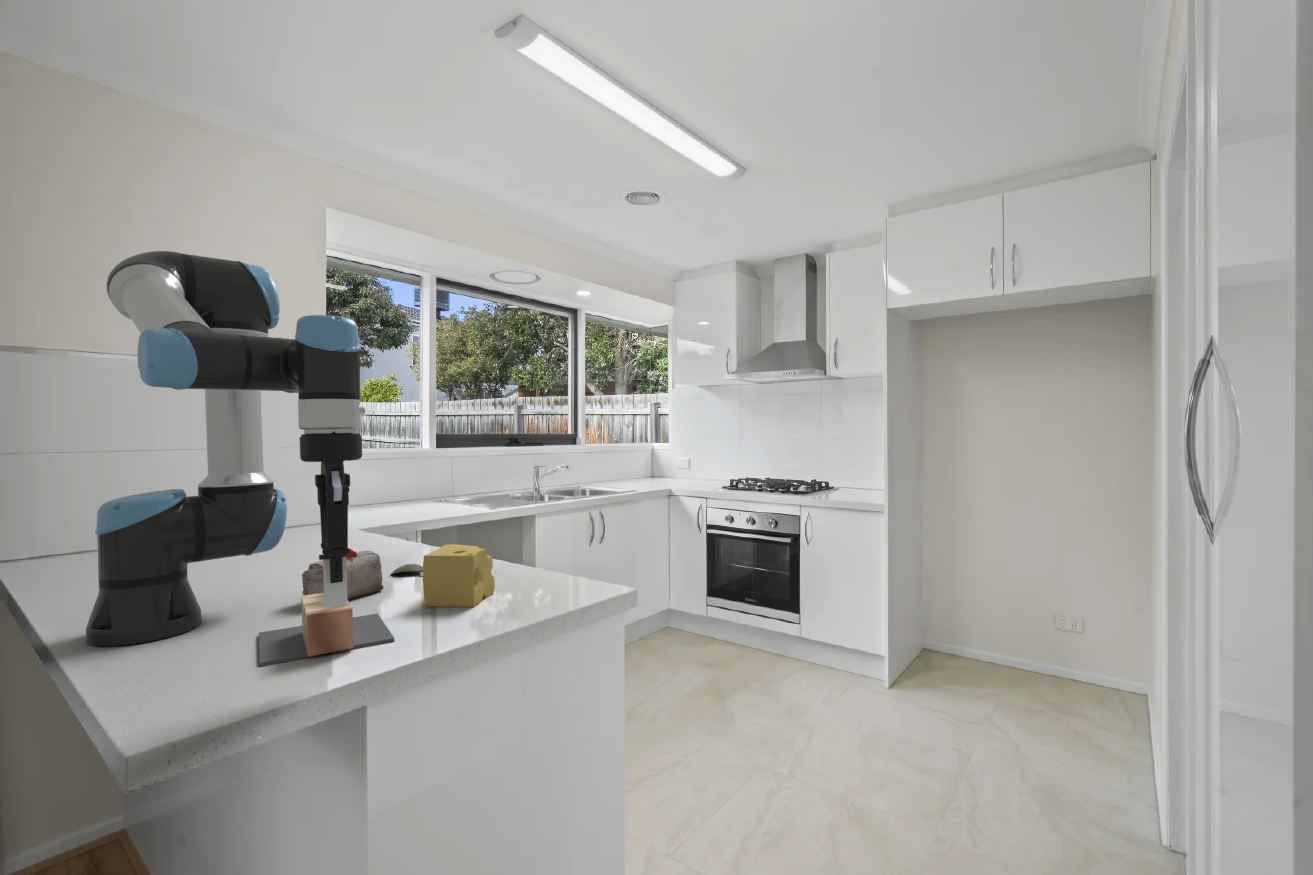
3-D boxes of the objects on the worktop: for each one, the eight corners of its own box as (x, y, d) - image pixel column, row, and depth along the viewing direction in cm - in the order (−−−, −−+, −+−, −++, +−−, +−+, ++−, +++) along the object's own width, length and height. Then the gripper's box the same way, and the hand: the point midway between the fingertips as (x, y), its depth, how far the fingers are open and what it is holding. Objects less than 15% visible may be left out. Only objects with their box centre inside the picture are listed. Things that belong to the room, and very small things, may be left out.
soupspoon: (408, 573, 151) (384, 581, 145) (407, 559, 150) (383, 566, 145) (476, 579, 140) (454, 588, 134) (475, 564, 140) (452, 572, 134)
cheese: (495, 593, 128) (494, 543, 127) (474, 608, 117) (473, 555, 117) (445, 592, 129) (444, 543, 128) (420, 608, 118) (419, 554, 118)
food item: (326, 609, 118) (325, 557, 118) (299, 604, 122) (297, 553, 121) (386, 591, 130) (385, 544, 130) (360, 587, 134) (359, 541, 134)
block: (306, 615, 92) (301, 595, 103) (308, 656, 92) (302, 632, 103) (352, 608, 95) (342, 590, 106) (353, 647, 95) (343, 625, 106)
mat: (259, 666, 90) (259, 662, 90) (258, 635, 103) (258, 632, 103) (394, 641, 99) (394, 637, 99) (377, 616, 113) (377, 613, 113)
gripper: (368, 431, 82) (373, 611, 83) (355, 431, 93) (359, 590, 94) (302, 432, 78) (308, 621, 79) (296, 432, 89) (301, 598, 90)
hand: (336, 604), depth 86 cm, fingers closed
